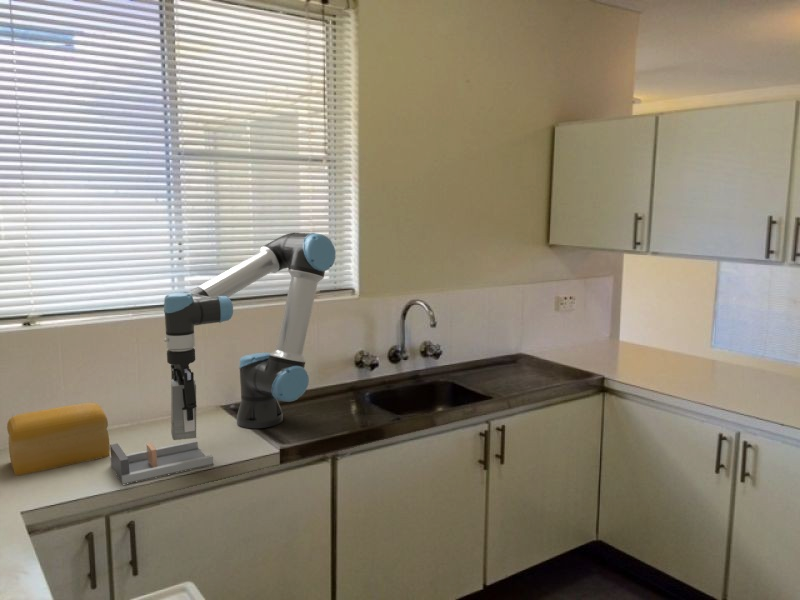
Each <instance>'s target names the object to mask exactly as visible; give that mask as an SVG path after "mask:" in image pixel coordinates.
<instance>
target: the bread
mask: <svg viewBox="0 0 800 600" xmlns="http://www.w3.org/2000/svg"><path fill="white" fill-rule="evenodd" d="M108 425H109V422H108V417H107V415H106V413H105V411H104V410H103V408H102V406H100V405H99V404H98V403H95V402H84V403H79V404H73V405H66V406H62V407H61V406H60V407H53V408H48V409H43V410H42V409H41V410H37V411H30V412H25V413H24V412H23V413H20V414H16V415H14V416H13V415H12V417H10V418H9V419H8V421H7V424H6V429H7V434H8V452H9V459H10V464H11V466H12V469H13V471H14V475H16V476H23V475H26V474H31V473H36V472H41V471H45V470H46V471H47V470H50V469H55V468H60V467H64V466H69V465H73V464H79V463H84V462H89V461H92V459H93V460H97V459H96V458H98V459H102V458H101V457H103V458H106V457H109V456H110V453H111V451H110V445H111V444H110V437H109V435H110V434H109V431H108ZM108 455H109V456H108ZM105 456H106V457H105ZM88 460H89V461H88ZM83 461H84V462H83Z"/></svg>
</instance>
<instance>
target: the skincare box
mask: <svg viewBox="0 0 800 600" xmlns="http://www.w3.org/2000/svg"><path fill="white" fill-rule="evenodd" d="M170 379H171V378H170ZM170 387H171V388H170V389H171V390H170V392H171V393H170V395H171V396H170V397H171V398H170V400H171V401H170V403H171V404H170V407H171V412H170V413H171V414H170V415H171V417H170V419H171V420H170V423H171V425H170V428H171V429H170V430H171V431H170V432H171V433H170V434H171V438H172V440H173V441H180V440H189V439H197V407H196V408H194V419H195V431H190V432H185V431H184V412H183V410H182V408H183V407H184V402H183V391H182V388H183V389H184V385H179V384H178V380H177V381H174V380H173V379H171V380H170ZM194 388H195V397H196V398H197V383H196V380H194Z"/></svg>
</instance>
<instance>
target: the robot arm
mask: <svg viewBox="0 0 800 600" xmlns="http://www.w3.org/2000/svg"><path fill="white" fill-rule="evenodd" d="M336 256H337V255H336V248H335V246H334V244H333V242H332V240H331V239H330V238H329V237H328V236H326V235H325V234H320V233H315V232H311V233H310V232H290V233H286V234H283V235H280V236H279V237H278V238H277V237H276V238H275V239H274V240H271V241H269V242H268V243H266V244H265V245H263V246H261V247H260V248H259V250H258V252H257V253H255V254H253V255H252V256H249V257H248V258H246V259H244V260H243V261H241V262H239V263H238V264H236V265H234V266H232V267H231V268H229V269H227V270H226V271H223V272H222V273H220V274H218V275H217V276H215V277H213V278H212V279H209V280H208V281H205V282H204V283H202V284H200V285H199V286H197V287H195V288H193V289H191V290H190V291H183V292H182V291H181V292H174V293H168V294H166V295H165V296H164V303H163V307H164V309H163V313H164V326H165V337H166V338H164V340H163V341H164V342H165V343H166V349H168V350H167V351H166V360H167V364H170V370H171V371H170V372H171V377H170V379H173V380H174V381H177V380H178V384H179V385H184V389H183V388H182V391H183V402H184V407H183V408H182V410H183V412H184V431H185V432H190V431H195V419H194V408H196V409H197V396H196V397H195V388H194V381H195V379H194V378H195V377H194V375H195V374H194V371H192V370H191V368H190V364H192V363H193V364H194V362H195V361H196V349H195V347H196V338H195V326H201V325H209V324H216V323H219V324H220V323H222V322H226V321H230V320H231V319H232V318H233V314H234V305H233V302H232V300H231V299H230V297H231V296H233V295H234V294H236V293H238V292H240V291H242V290H243V289H244V288H247V287H248V286H250V285H251V284H253V283H255V282H257V281H258V280H260V279H262V278H263V277H266V276H267V275H268V274H270V273H273V274H276V273H278V272H280V271H282V270H286V269H287V271H288V273H289V275H290V277H291V278H290V283H289V287H288V290H287V295H286V301H285V305H284V311H283V314H282V320H281V324H280V329H279V333H278V337H277V341H276V345H275V350H273V351H272V352H268V351H267V352H260V353H259V352H258V353H251V354H247V355H244V356H241V358H240V359H239V365H238V369H239V381H240V398H241V399H240V404H239V407H238V411H237V414H236V424H237V426H239V427H241V428H246V429H264V428H271V427H274V426H277V425H279V424H281V423H282V422H283V420H284V418H283V417H284V414H283V411H282V408H281V405H280V403H279V401H281V402H288V403H289V402H294V401H296V400H298V399H299V398H300V397H302V396H303V395H304V394H305V392H306V391H307V389H308V386H309V381H310V379H309V378H310V377H309V375H308V371H307V370H306V369H305V365H306V359H305V358H304V357H303V351H304V348H305V343H306V339H307V335H308V331H309V330H308V329H309V324H310V320H311V316H312V315H311V314H312V310H313V307H314V301H315V297H316V292H317V287H318V284H319V282H320V281H323V279H324V278H325V273H326V271H328V270H329V269H330V268H331V267H333V265H334V263H335V261H336Z"/></svg>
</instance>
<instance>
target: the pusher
mask: <svg viewBox="0 0 800 600" xmlns="http://www.w3.org/2000/svg"><path fill="white" fill-rule="evenodd" d="M146 450H147V459H148V462H149V463H150V465H151V466H152V467H157V452H156V449H155V446H154V445H153V444H152V442H150V443H147V444H146Z"/></svg>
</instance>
